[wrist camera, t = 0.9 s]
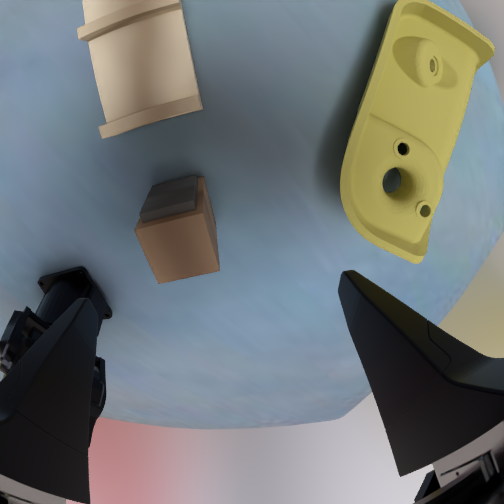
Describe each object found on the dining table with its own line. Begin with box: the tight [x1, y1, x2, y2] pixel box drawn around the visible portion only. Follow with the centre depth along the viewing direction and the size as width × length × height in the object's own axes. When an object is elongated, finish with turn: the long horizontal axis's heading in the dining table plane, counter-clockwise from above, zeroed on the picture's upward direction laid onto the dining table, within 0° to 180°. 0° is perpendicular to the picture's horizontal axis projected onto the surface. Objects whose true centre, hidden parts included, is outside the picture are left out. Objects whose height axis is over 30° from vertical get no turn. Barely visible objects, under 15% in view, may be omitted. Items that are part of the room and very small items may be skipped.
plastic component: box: [340, 0, 495, 264], centre depth 17 cm, size 20×7×10 cm
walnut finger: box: [135, 175, 220, 284], centre depth 18 cm, size 4×5×6 cm
